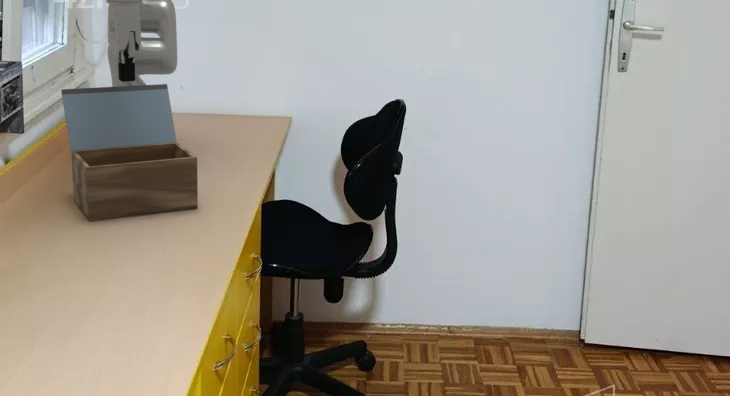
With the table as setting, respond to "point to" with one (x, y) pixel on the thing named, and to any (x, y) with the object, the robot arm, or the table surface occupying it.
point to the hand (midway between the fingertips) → (127, 80)
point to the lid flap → (118, 116)
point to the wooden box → (134, 180)
